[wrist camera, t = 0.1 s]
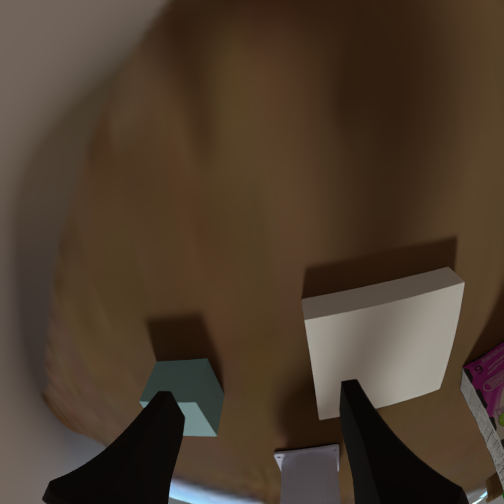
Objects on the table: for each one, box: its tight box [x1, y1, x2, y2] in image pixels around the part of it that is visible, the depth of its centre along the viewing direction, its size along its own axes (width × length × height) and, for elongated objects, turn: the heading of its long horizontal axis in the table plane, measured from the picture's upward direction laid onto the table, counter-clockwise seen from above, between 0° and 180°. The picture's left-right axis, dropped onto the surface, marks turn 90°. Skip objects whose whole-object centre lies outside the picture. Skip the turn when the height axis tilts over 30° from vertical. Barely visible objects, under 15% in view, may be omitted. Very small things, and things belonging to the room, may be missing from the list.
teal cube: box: [139, 358, 224, 436], centre depth 22 cm, size 5×5×5 cm
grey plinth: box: [301, 267, 465, 420], centre depth 21 cm, size 12×12×3 cm
